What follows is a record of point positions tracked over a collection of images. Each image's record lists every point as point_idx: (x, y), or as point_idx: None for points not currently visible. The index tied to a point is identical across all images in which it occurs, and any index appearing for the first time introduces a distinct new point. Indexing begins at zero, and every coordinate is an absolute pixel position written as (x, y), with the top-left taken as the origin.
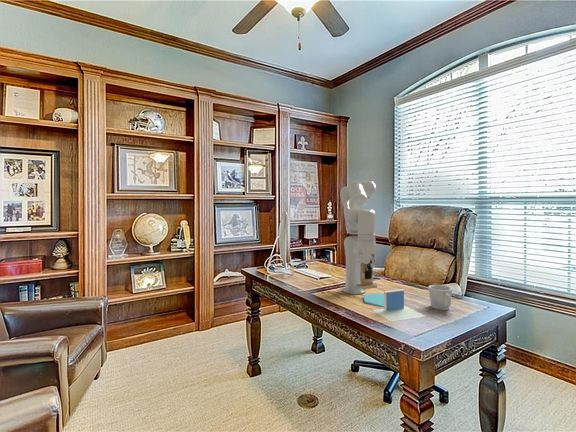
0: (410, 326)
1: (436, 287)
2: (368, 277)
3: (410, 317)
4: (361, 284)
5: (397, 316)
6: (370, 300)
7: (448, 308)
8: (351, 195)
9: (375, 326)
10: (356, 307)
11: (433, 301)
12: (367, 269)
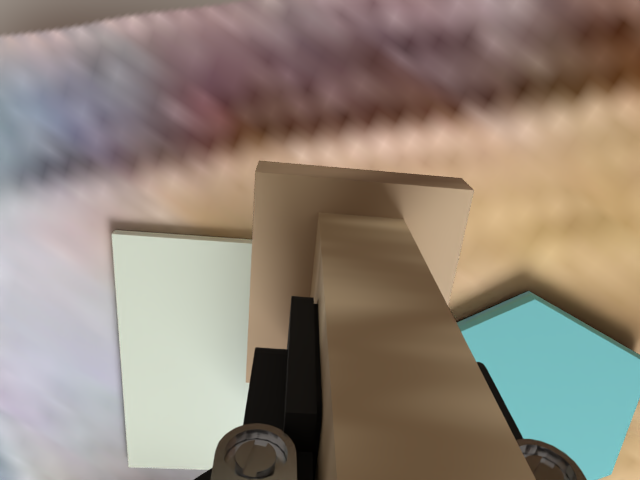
0: (23, 303)
1: None
2: (257, 352)
3: (141, 385)
4: (366, 217)
5: (186, 329)
6: (527, 347)
7: None
8: None
9: (85, 82)
10: (507, 192)
11: None
12: (215, 464)
